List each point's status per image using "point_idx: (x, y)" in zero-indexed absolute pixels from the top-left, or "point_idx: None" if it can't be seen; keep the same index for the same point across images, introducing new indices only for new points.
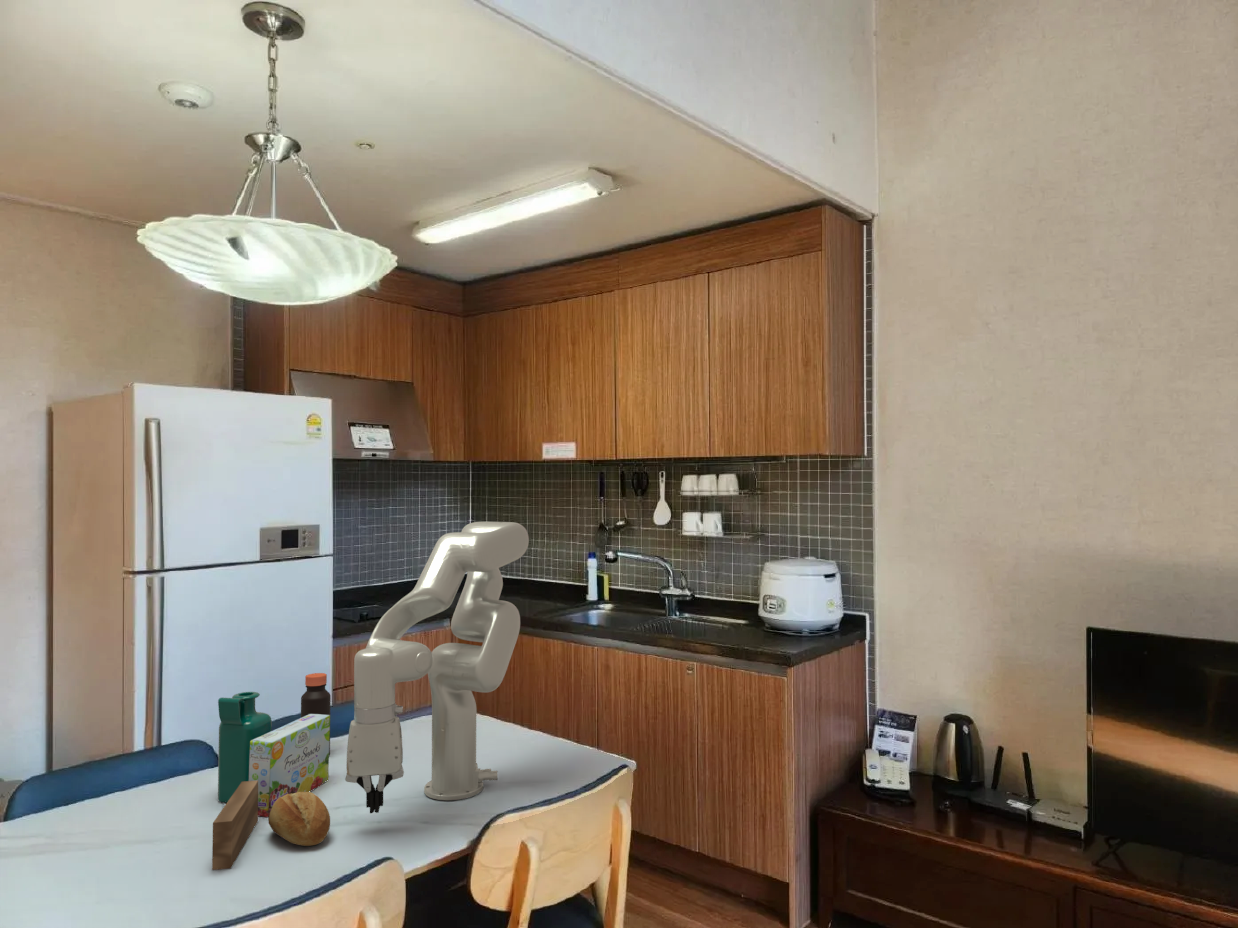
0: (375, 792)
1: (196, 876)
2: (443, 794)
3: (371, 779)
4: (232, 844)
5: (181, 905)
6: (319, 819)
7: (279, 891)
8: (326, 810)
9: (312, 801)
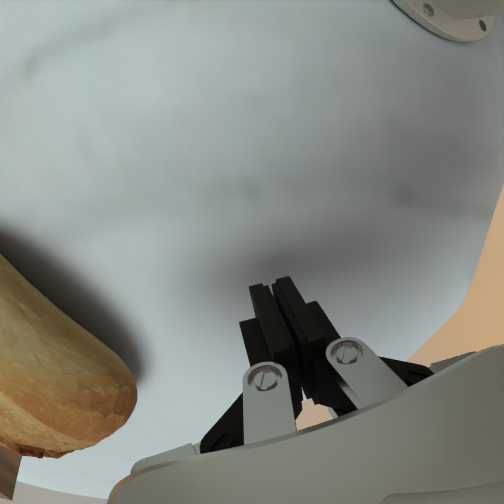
0: (311, 397)
1: None
2: (436, 18)
3: (292, 406)
4: (15, 455)
5: (66, 483)
6: (115, 429)
7: None
8: (98, 398)
9: (50, 435)
